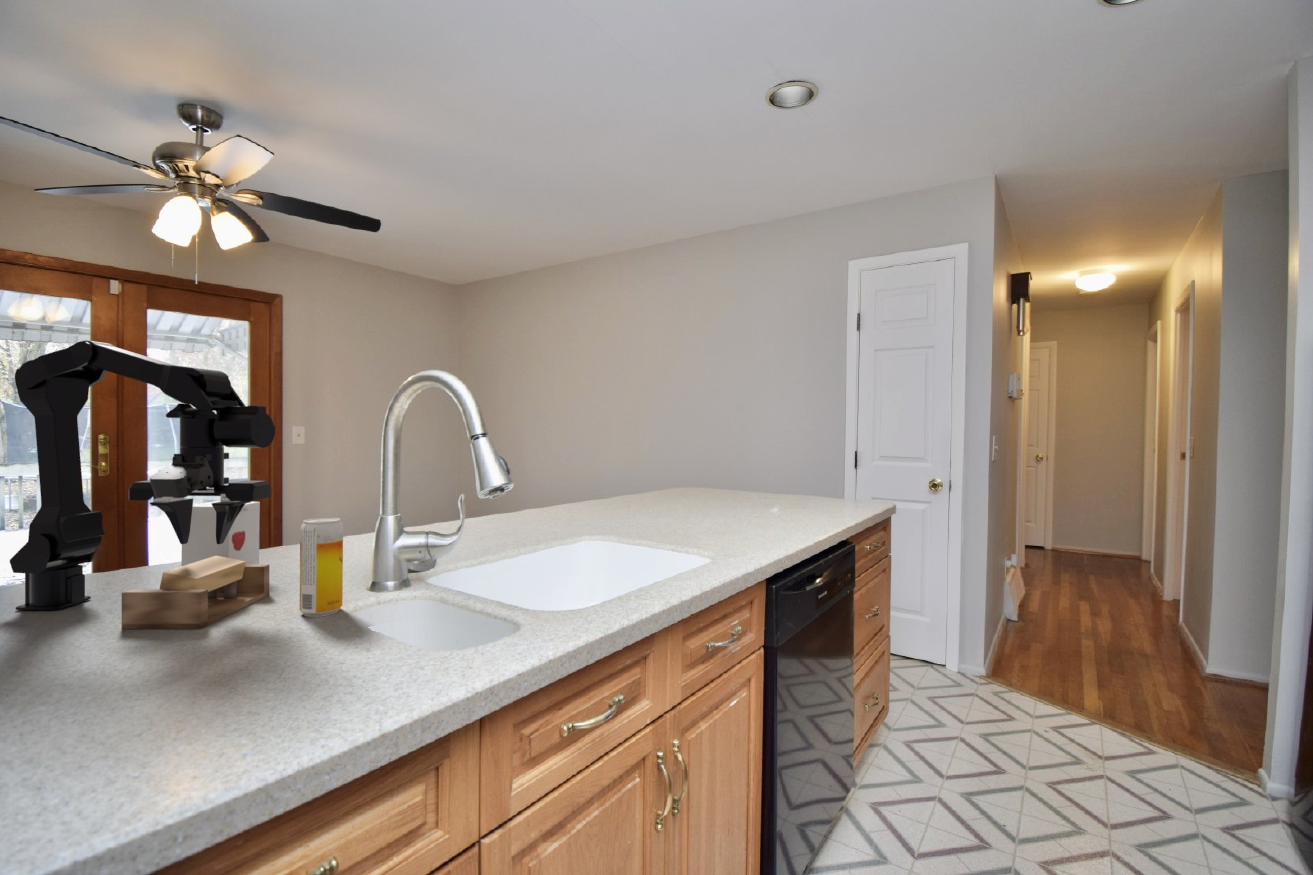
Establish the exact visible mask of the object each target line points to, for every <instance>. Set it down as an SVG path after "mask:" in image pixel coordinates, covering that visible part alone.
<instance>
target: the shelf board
mask: <svg viewBox="0 0 1313 875" xmlns="http://www.w3.org/2000/svg"><path fill="white" fill-rule="evenodd" d="M245 562H246V561H241V560H236V559H231V558H226V557H221V556H213V557H210V558H207V559H204V560H200V561H197V562H194V563H191V564H188V565H185V566H179V567H175V568H172V569H168V570H166V571H163V572H162V575H161V580H160V585H159V589H170V590H208V592H209V591H212V590H214V589H217V588H219V587H222V586H224V585H227V584H229V583H232V582H234V581H237V580H240V579H242V577H243V572H244V567H245Z"/></svg>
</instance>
